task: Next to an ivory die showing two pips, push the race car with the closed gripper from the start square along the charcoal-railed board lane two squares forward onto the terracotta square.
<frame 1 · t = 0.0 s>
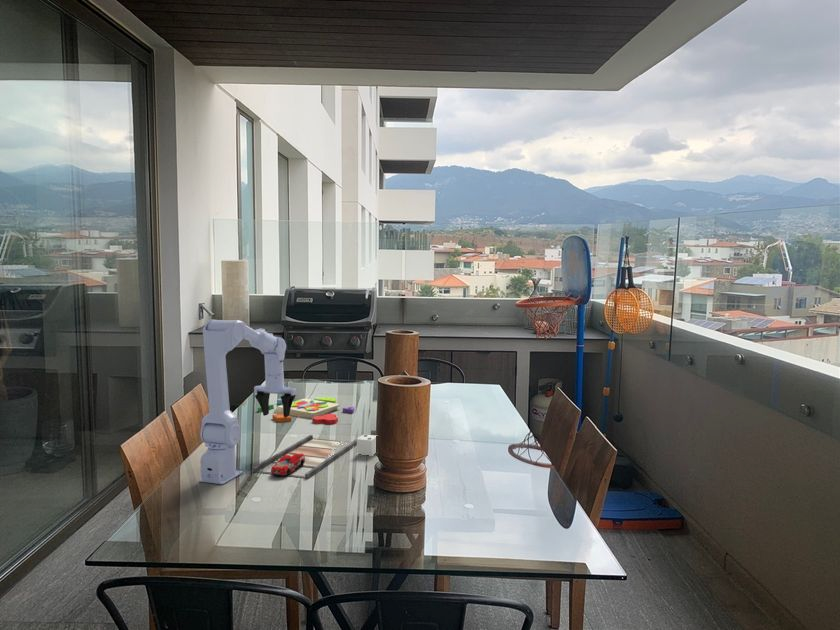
hand: (276, 415, 201), 10 cm above the table, tool pointing down, fingers open, 7 cm apart
die: (367, 453, 193), on the table
race car: (288, 470, 180), resting on board
board: (309, 456, 191), on the table
pattern blocks set: (307, 412, 245), on the table
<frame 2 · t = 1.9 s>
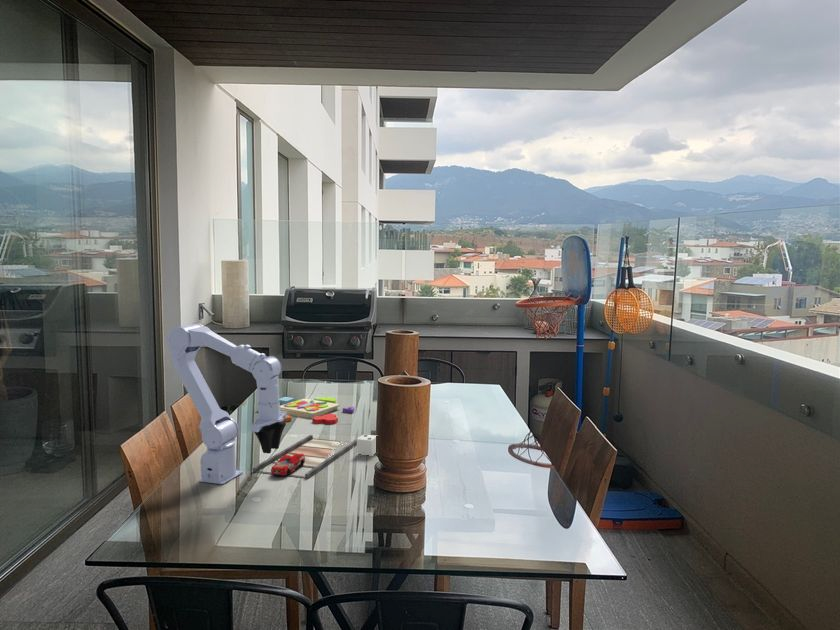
hand: (270, 450, 171), 8 cm above the table, tool pointing down, fingers open, 3 cm apart
nothing on the table moved.
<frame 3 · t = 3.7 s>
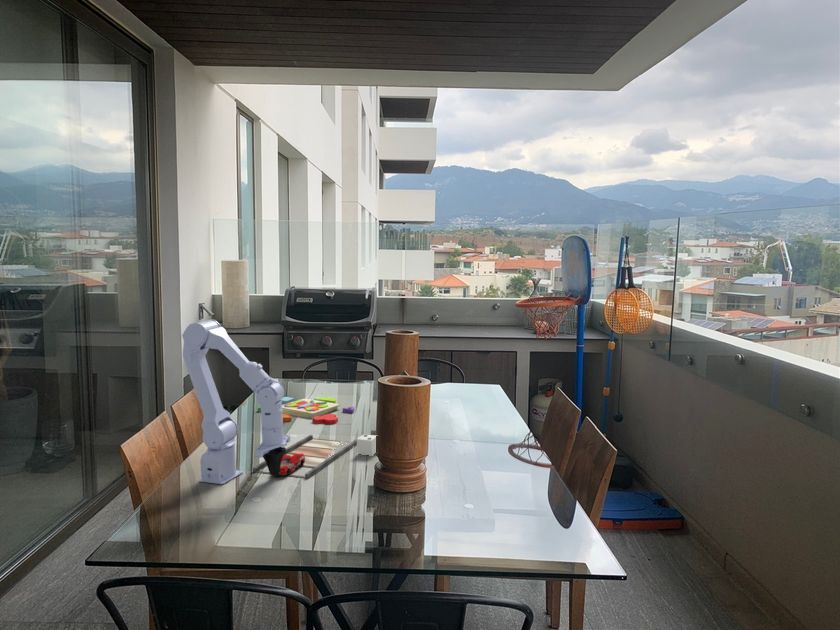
hand: (274, 474, 173), 1 cm above the table, tool pointing down, fingers closed
race car: (288, 470, 180), resting on board, touching gripper
everything else where it was.
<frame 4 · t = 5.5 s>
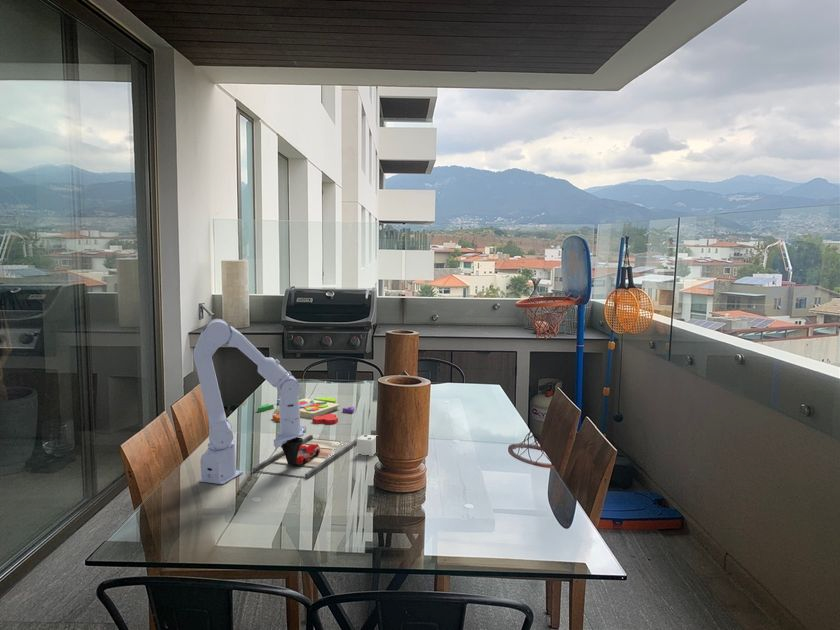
hand: (291, 463, 181), 1 cm above the table, tool pointing down, fingers closed
race car: (304, 459, 188), resting on board, touching gripper
everything else where it was.
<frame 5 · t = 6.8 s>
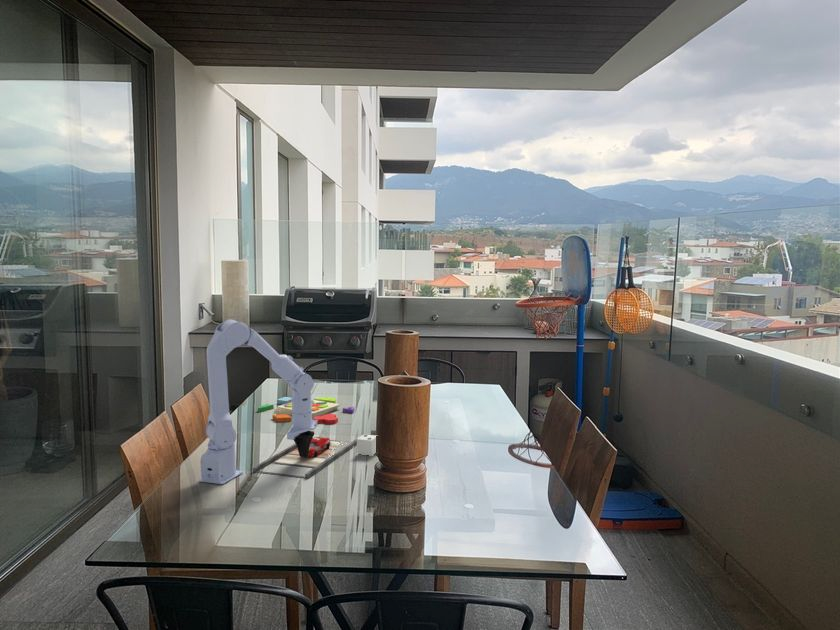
hand: (303, 456, 188), 1 cm above the table, tool pointing down, fingers closed
race car: (315, 452, 195), resting on board, touching gripper
everything else where it was.
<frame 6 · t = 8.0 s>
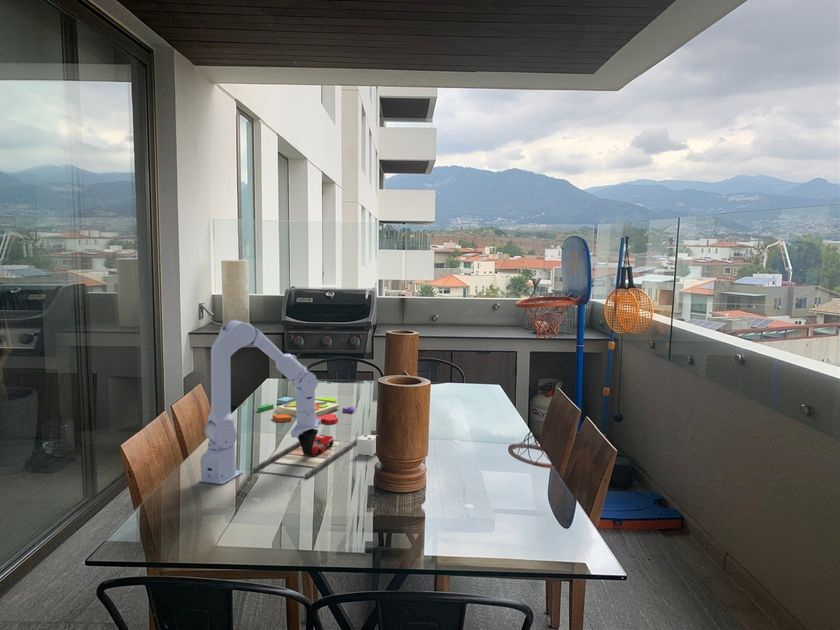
hand: (307, 453, 190), 1 cm above the table, tool pointing down, fingers closed
race car: (318, 450, 197), resting on board, touching gripper
everything else where it was.
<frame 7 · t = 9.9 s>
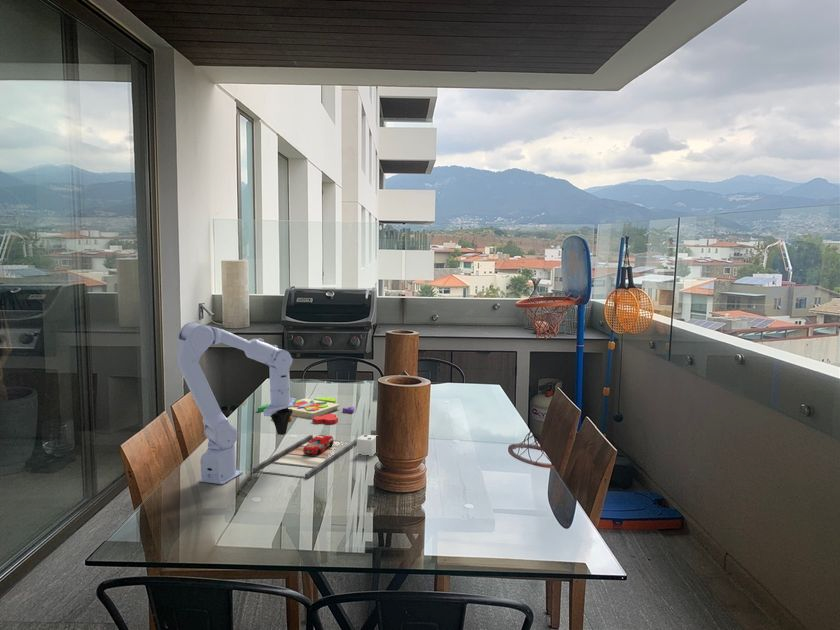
hand: (281, 434, 186), 9 cm above the table, tool pointing down, fingers closed
race car: (318, 450, 197), resting on board
everything else where it was.
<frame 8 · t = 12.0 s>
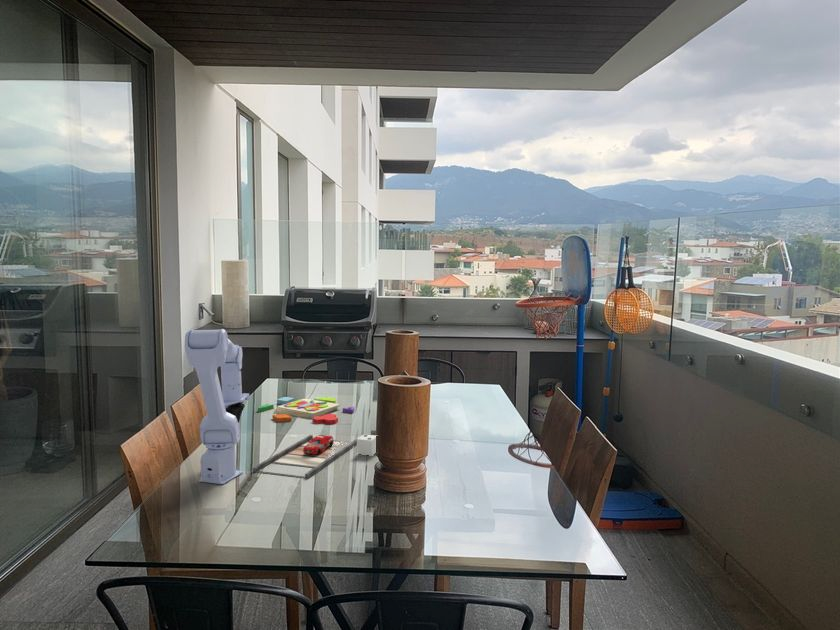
hand: (233, 428, 189), 9 cm above the table, tool pointing down, fingers closed
nothing on the table moved.
at the end: race car inside the target area (2.1 cm from its centre), resting on board; race car tilted 1°; the gripper is holding nothing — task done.
